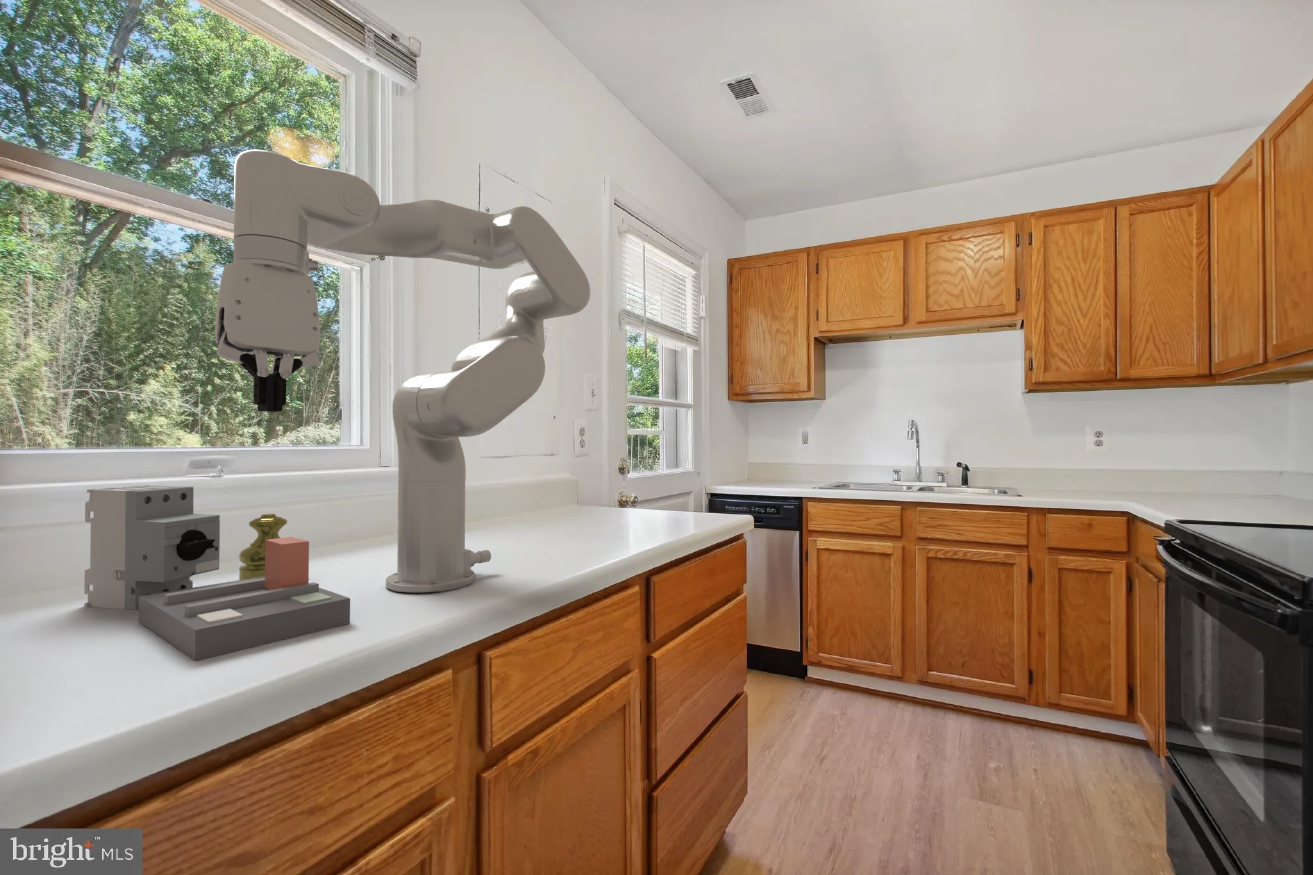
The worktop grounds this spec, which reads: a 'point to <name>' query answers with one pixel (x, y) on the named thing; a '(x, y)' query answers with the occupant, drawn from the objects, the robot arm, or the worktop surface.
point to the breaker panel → (240, 615)
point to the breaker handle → (286, 562)
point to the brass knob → (259, 545)
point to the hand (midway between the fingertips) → (269, 411)
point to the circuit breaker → (146, 543)
